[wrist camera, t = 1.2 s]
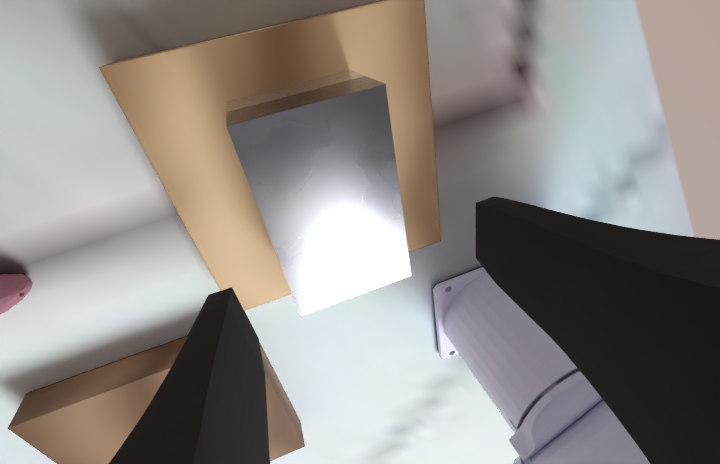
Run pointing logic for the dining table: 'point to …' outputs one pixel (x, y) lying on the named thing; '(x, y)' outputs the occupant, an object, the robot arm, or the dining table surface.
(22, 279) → the video game controller
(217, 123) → the oak stand
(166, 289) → the dining table surface
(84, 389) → the walnut stand
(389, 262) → the grey rectangular block
